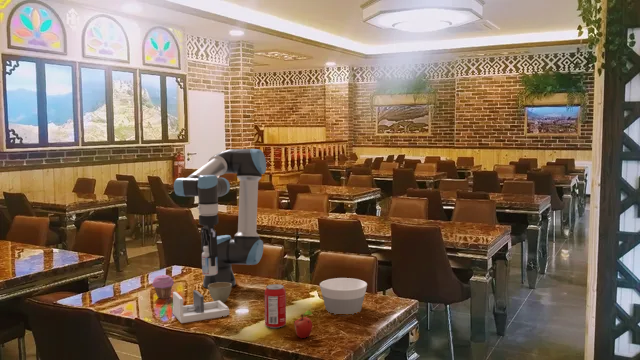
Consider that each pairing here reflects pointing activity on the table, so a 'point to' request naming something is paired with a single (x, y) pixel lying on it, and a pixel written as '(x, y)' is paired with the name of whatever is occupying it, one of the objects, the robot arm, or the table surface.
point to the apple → (303, 325)
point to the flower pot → (220, 291)
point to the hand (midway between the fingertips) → (209, 272)
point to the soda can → (275, 306)
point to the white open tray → (210, 311)
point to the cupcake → (163, 286)
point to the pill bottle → (207, 262)
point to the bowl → (343, 295)
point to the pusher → (197, 302)
